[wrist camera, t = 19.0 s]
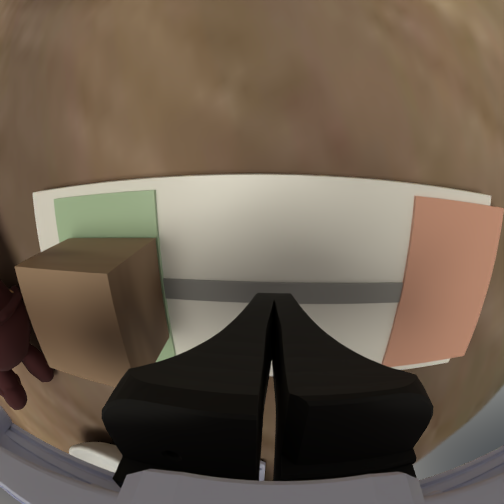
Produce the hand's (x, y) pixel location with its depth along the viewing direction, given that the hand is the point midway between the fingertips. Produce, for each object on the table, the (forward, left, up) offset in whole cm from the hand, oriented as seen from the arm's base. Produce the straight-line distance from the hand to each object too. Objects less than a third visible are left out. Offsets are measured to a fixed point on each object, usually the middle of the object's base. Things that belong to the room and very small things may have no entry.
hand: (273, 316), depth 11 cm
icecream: (-2, +19, -3) cm, 19 cm away
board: (0, +1, -3) cm, 3 cm away
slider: (0, +7, -2) cm, 8 cm away
